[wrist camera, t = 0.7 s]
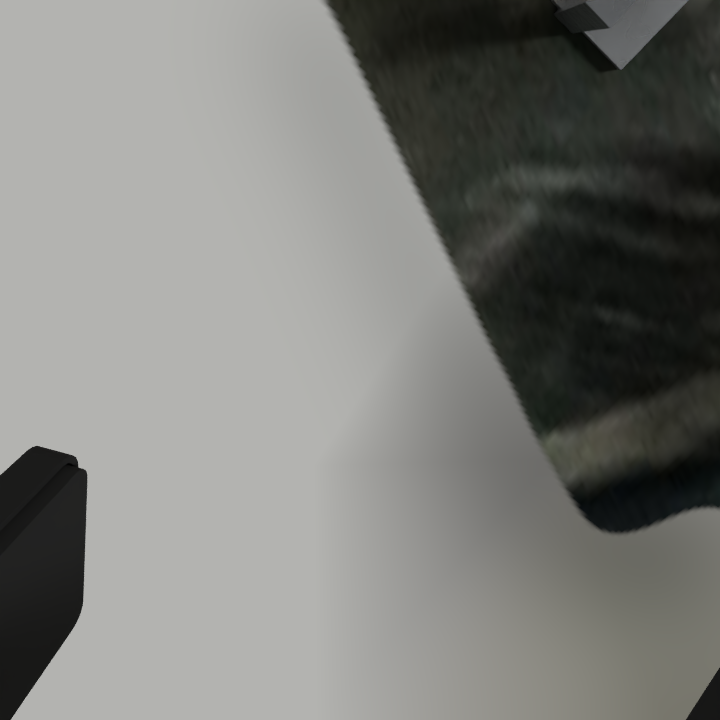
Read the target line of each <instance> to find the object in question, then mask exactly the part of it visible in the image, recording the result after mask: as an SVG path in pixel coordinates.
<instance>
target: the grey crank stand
mask: <svg viewBox="0 0 720 720" xmlns="http://www.w3.org/2000/svg"><path fill="white" fill-rule="evenodd" d="M550 1H551V2H552V3H553V4H554V5H555V6H556V7H557V8H558V10H557V11H556V12H555V14H554V15H555V16H556V17H557V19H558V20H559V21H560V22H561V23H562V24H563V25H564V26H565V27H566V28H567V29H568V30H569V31H570V32H571V33H578V32H582V33H583V34H584V36H585V37H586V38H587V39H588V40H589V41H590V42H591V43H592V44H593V45H594V46H595V47H596V48H597V49H598V50H599V51H600V52H601V53H602V54H603V55H604V56H605V57H606V58H607V59H608V60H609V61H610V62H611V63H612V64H613V65H614V66H615V67H616V68H617V69H618V70H622V69H623V67H624V66H625V65H626V64H627V63H628V62H629V61H630V60H631V59H632V58H633V57H634V56H635V55H636V54H637V53H638V52H639V51H640V50H641V49H642V48H643V47H644V46H645V45H646V44H647V43H648V42H649V41H650V40H651V38H652V37H653V36H654V35H655V34H656V33H657V32H658V31H659V30H660V29H661V28H662V27H663V26H664V25H665V24H666V23H667V22H668V21H669V20H670V19H671V18H672V17H673V16H674V15H675V14H676V13H677V12H678V11H679V9H680V8H681V7H682V6H683V5H684V4H685V3H686V2H687V1H688V0H550Z"/></svg>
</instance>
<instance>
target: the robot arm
mask: <svg viewBox="0 0 720 720" xmlns="http://www.w3.org/2000/svg"><path fill="white" fill-rule="evenodd" d="M86 501H87V472H86V470H84V469H81V468H78V461H77V459H76V457H74V456H72V455H69V454H65V453H62V452H58V451H54V450H51V449H47V448H43V447H39V446H35V447H32V448H31V449H29V450H28V451H26V452H25V453H24V454H23V455H22V456H21V457H20V458H19V459H18V460H17V461H15V462H14V463H13V464H12V465H11V466H10V467H9V468H8V469H7V470H6V471H5V472H4V473H2V474H1V475H0V720H11V718H12V717H13V715H14V714H15V712H16V711H17V709H18V708H19V707H20V705H21V704H22V702H23V701H24V699H25V698H26V696H27V695H28V694H29V692H30V690H31V689H32V688H33V686H34V685H35V683H36V682H37V680H38V679H39V677H40V676H41V675H42V673H43V671H44V670H45V669H46V667H47V666H48V664H49V663H50V661H51V660H52V658H53V657H54V656H55V654H56V653H57V651H58V650H59V648H60V647H61V645H62V644H63V642H64V641H65V640H66V638H67V637H68V635H69V634H70V632H71V631H72V629H73V628H74V626H75V624H76V622H77V620H78V618H79V615H80V613H81V609H82V606H83V589H84V587H83V586H84V561H85V532H86V531H85V530H86ZM686 720H720V668H719V670H718V671H717V673H716V674H715V676H714V677H713V679H712V680H711V682H710V683H709V685H708V687H707V688H706V690H705V691H704V693H703V694H702V696H701V697H700V699H699V701H698V702H697V703H696V705H695V707H694V708H693V710H692V711H691V713H690V714H689V716H688V718H687V719H686Z"/></svg>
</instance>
